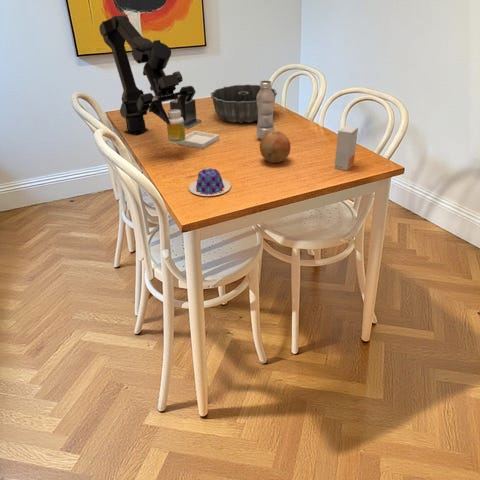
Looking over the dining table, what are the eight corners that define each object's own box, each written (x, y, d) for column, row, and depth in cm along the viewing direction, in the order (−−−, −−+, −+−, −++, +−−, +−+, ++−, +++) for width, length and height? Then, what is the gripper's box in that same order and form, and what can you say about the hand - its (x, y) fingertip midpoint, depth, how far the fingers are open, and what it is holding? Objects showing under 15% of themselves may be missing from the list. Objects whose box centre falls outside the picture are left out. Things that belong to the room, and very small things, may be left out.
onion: (291, 156, 149) (292, 126, 144) (288, 168, 141) (289, 137, 136) (262, 154, 151) (262, 125, 146) (257, 166, 143) (257, 135, 138)
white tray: (178, 144, 161) (177, 139, 160) (195, 135, 169) (194, 130, 168) (203, 149, 157) (202, 144, 156) (219, 139, 164) (219, 134, 163)
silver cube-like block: (167, 125, 180) (164, 102, 175) (180, 118, 186) (178, 96, 182) (188, 128, 176) (186, 105, 171) (201, 122, 182) (199, 99, 177)
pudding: (182, 185, 133) (181, 168, 130) (219, 177, 138) (219, 160, 135) (199, 202, 124) (197, 184, 121) (238, 192, 129) (237, 175, 126)
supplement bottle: (182, 144, 145) (180, 113, 140) (166, 143, 146) (163, 113, 141) (187, 138, 150) (184, 108, 145) (171, 137, 151) (168, 108, 146)
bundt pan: (218, 130, 174) (217, 103, 168) (206, 111, 195) (205, 87, 190) (284, 123, 179) (285, 98, 173) (265, 105, 200) (265, 82, 195)
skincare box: (347, 171, 138) (351, 132, 132) (334, 168, 140) (337, 130, 134) (354, 164, 143) (358, 126, 136) (341, 161, 145) (345, 124, 138)
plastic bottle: (262, 143, 160) (262, 85, 149) (252, 138, 165) (252, 81, 154) (277, 140, 162) (279, 82, 152) (268, 135, 168) (269, 78, 157)
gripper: (135, 67, 134) (156, 113, 132) (190, 59, 143) (211, 102, 141) (128, 89, 144) (148, 132, 142) (180, 80, 152) (199, 121, 151)
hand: (177, 121), depth 144 cm, fingers closed on supplement bottle, 5 cm apart
